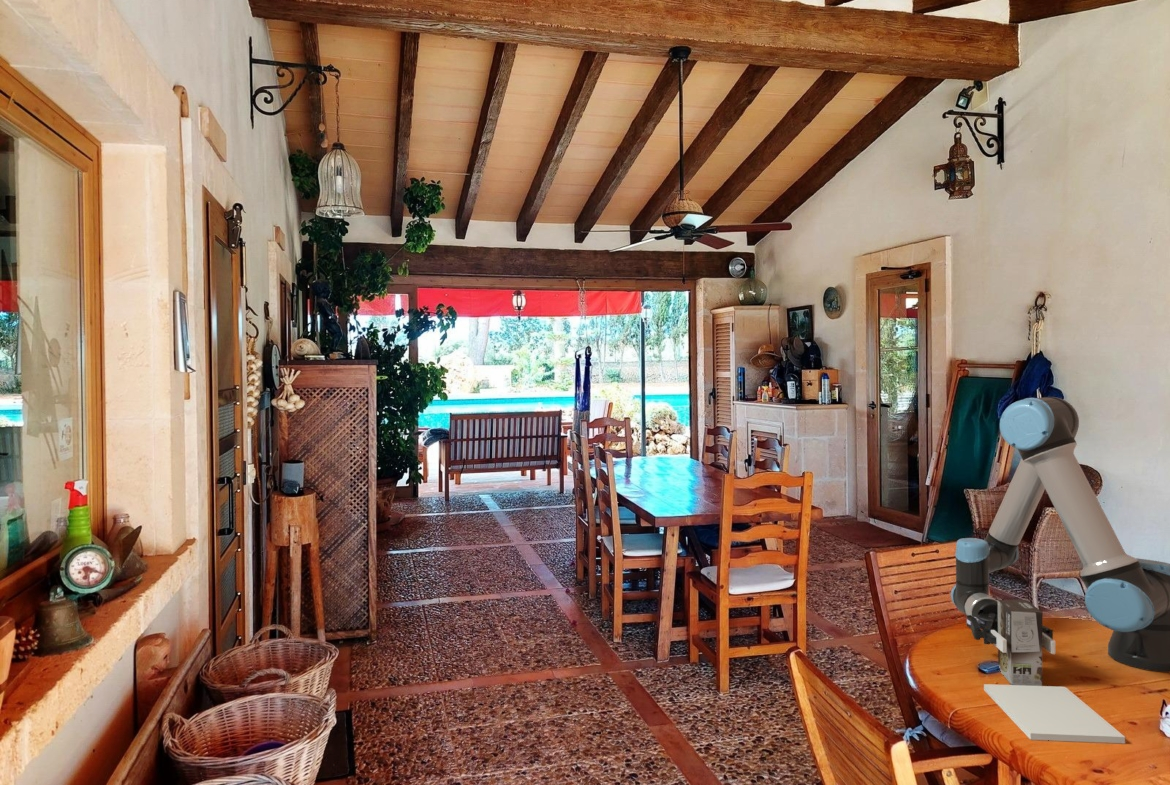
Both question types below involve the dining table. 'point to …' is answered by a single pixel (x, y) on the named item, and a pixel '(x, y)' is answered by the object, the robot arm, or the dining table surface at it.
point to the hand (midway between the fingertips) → (1028, 647)
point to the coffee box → (1020, 642)
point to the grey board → (1052, 714)
